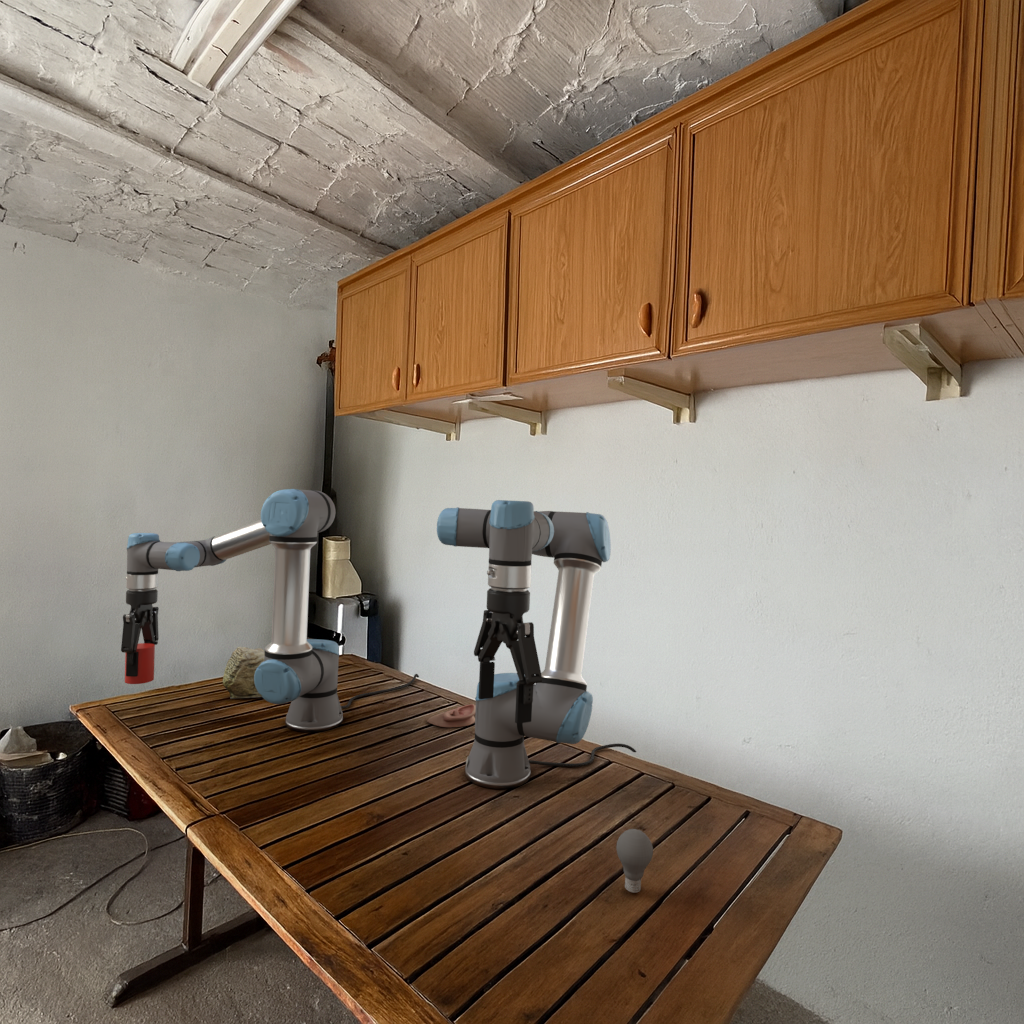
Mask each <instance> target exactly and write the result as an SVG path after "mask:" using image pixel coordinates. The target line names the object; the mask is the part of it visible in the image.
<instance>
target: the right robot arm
mask: <svg viewBox="0 0 1024 1024" xmlns="http://www.w3.org/2000/svg"><path fill="white" fill-rule="evenodd" d="M534 509H535V508H534V504H533V503H532V502H531V501H528V500H524V501H523V500H506V499H505V500H504V499H496V500H494V501H493V502H492V504H491V508H490V509H483V508H482V509H481V508H468V507H467V508H466V507H465V508H464V507H445V508H444V509H442V510H441V511H440V513H439V514H438V517H437V521H436V522H437V523H436V534H437V539H438V540H439V542H440V543H441V544H443V545H445V546H452V547H462V548H463V547H464V548H479V549H480V548H481V549H484V548H485V549H488V570H487V571H486V574H487V586H489V587H490V588H488V590H487V591H486V609H485V610H483V615H482V621H481V622H482V623H481V626H480V630H479V633H478V637H477V640H476V643H475V646H474V649H473V655H474V657H477V661H478V662H479V675H478V676H479V677H478V683H477V684H476V685H477V686H476V695H475V697H474V698H475V706H476V710H475V714H474V717H475V722H474V738H473V739H474V740H473V743H472V747H471V748H470V752H469V754H468V756H467V757H466V760H465V768H464V775H465V777H466V779H467V781H469V782H471V783H473V784H475V785H476V786H480V787H483V788H488V789H497V790H500V789H501V790H503V789H512V788H517V787H520V786H522V785H524V784H526V783H527V782H529V780H530V778H531V765H540V766H548V767H549V766H550V767H561V768H562V767H563V768H579V767H585V766H590V765H591V764H592V763H593V762H594V760H595V754H596V752H598V751H601V750H605V749H609V748H610V749H611V748H625V749H628V750H630V751H631V752H632V753H637V750H636V749H635V748H634V747H632V746H631V745H628V744H625V743H609V744H604V745H599V746H597V747H595V748H593V749H592V750H591V753H590V759H588V760H587V761H584V762H579V763H576V762H575V763H567V762H566V763H565V762H553V761H552V762H551V761H541V760H532V759H529V757H528V752H527V750H526V745H525V737H528V738H532V739H537V740H543V741H549V742H554V743H557V744H569V745H576V744H578V743H580V742H581V741H582V740H583V739H584V736H585V734H586V732H587V730H588V727H589V724H590V721H591V716H592V711H593V704H594V703H593V702H594V697H593V696H594V695H593V694H592V693H591V692H590V691H588V690H587V689H588V683H587V682H586V679H584V677H583V675H582V674H583V666H584V657H585V650H586V641H587V634H588V627H589V626H588V625H589V619H590V609H591V602H592V595H593V586H594V577H595V575H596V574H597V573H599V572H600V571H601V570H602V566H603V565H602V563H608V562H609V561H610V557H611V546H612V545H611V534H610V527H609V522H608V520H607V518H606V517H605V516H604V515H603V514H600V513H593V512H589V511H586V512H577V511H576V512H575V511H554V510H540V511H539V510H534ZM533 555H534V556H539V557H545V558H553V565H554V566H555V567H556V569H557V570H558V572H557V579H556V580H557V581H556V586H555V592H554V593H555V595H554V601H553V609H552V615H551V624H550V629H549V637H548V644H547V649H546V650H547V651H546V657H545V664H544V669H543V671H541V665H540V660H539V655H538V650H537V646H536V641H535V624H534V622H524V618H523V616H524V614H527V613H528V612H529V611H530V609H531V608H530V605H531V592H530V590H528V589H529V588H531V586H532V558H533ZM502 643H503V644H505V647H506V648H507V649H509V652H510V656H511V658H512V661H513V664H514V667H515V671H516V672H500V673H495V671H496V670H495V667H496V666H495V665H496V662H494V661H496V657H495V656H496V654H497V652H498V650H499V649H500V646H501V645H502Z"/></svg>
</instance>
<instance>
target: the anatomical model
mask: <svg viewBox="0 0 1024 1024" xmlns="http://www.w3.org/2000/svg"><path fill="white" fill-rule="evenodd" d="M475 710H476V704H474V703H469V704H465V705H462V706H458V707H456V708H455V707H454V708H453V709H450V710H447V711H444V712H440V713H437V714H434V715H432V716H431V717H430V716H429V718H427V720H426V722H427V723H428V724H431V725H433V726H435V727H436V726H437V727H440V728H459V727H466V726H467V727H468V726H471V725H473V724H475Z"/></svg>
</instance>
